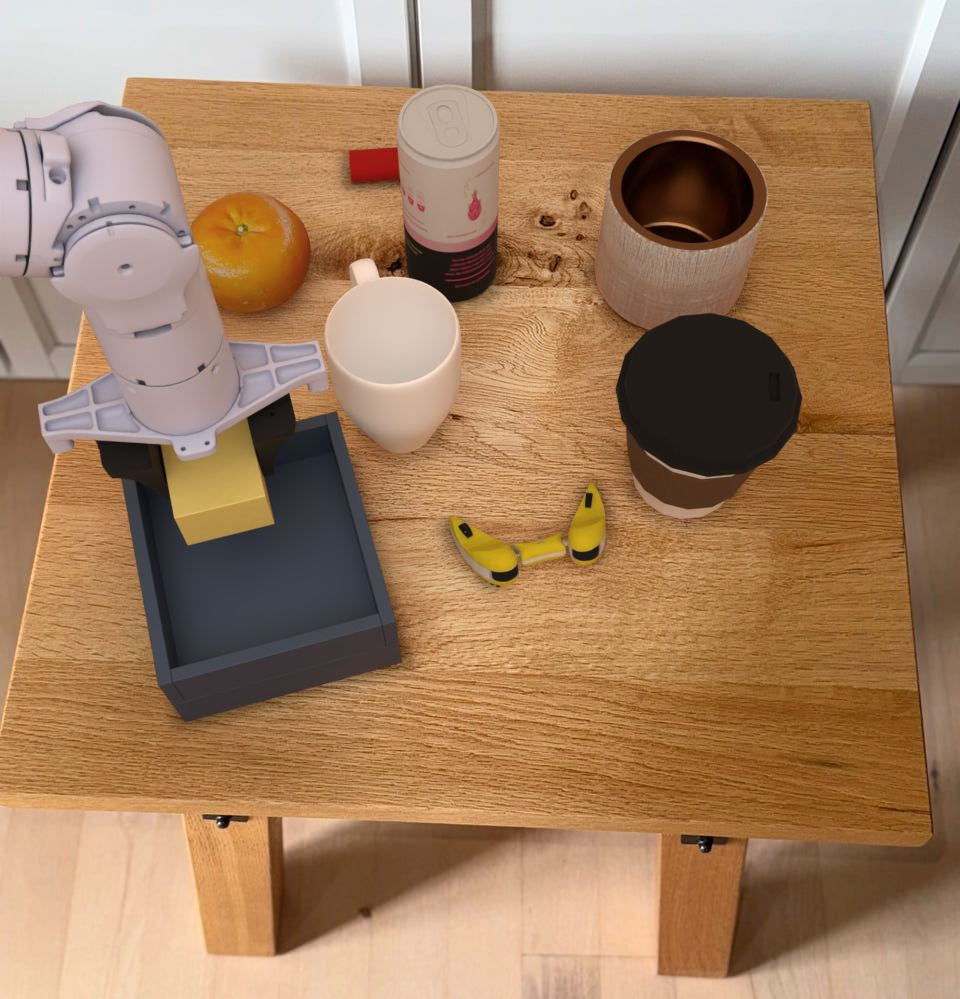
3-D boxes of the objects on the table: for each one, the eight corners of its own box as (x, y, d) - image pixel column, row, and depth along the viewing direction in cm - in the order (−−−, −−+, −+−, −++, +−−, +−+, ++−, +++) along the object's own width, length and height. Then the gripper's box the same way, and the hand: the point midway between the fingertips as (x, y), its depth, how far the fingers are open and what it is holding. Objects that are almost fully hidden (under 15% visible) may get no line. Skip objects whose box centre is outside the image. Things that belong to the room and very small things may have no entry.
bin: (185, 722, 73) (157, 685, 67) (146, 515, 79) (118, 464, 73) (402, 662, 75) (395, 621, 68) (347, 464, 81) (336, 410, 75)
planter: (683, 198, 92) (705, 104, 83) (771, 297, 88) (804, 209, 79) (564, 257, 89) (574, 167, 81) (649, 362, 85) (669, 278, 76)
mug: (479, 459, 81) (479, 365, 71) (361, 494, 80) (344, 404, 70) (424, 321, 86) (417, 215, 76) (312, 352, 85) (290, 249, 75)
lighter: (348, 146, 92) (452, 139, 93) (350, 158, 93) (452, 151, 94) (350, 174, 91) (455, 167, 91) (351, 186, 92) (455, 179, 93)
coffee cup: (760, 415, 83) (803, 311, 72) (764, 559, 78) (810, 471, 67) (602, 403, 83) (621, 298, 73) (595, 546, 78) (615, 456, 68)
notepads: (187, 546, 68) (174, 518, 65) (164, 428, 71) (150, 396, 68) (275, 524, 68) (265, 495, 65) (248, 408, 72) (238, 376, 69)
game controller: (475, 611, 75) (469, 572, 73) (451, 545, 80) (445, 506, 78) (626, 573, 76) (625, 533, 74) (594, 510, 81) (592, 470, 79)
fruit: (165, 308, 83) (203, 212, 78) (177, 246, 89) (213, 153, 84) (282, 350, 86) (325, 259, 81) (285, 286, 92) (326, 199, 88)
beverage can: (483, 227, 90) (485, 73, 77) (506, 296, 88) (512, 148, 74) (398, 245, 90) (385, 92, 76) (419, 315, 87) (409, 169, 73)
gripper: (18, 442, 55) (100, 564, 67) (330, 370, 57) (355, 501, 69) (2, 320, 58) (83, 457, 70) (298, 255, 60) (327, 400, 72)
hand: (216, 472), depth 70 cm, fingers closed on notepads, 5 cm apart
